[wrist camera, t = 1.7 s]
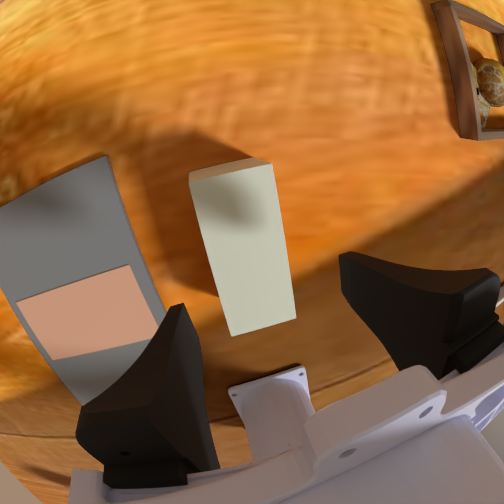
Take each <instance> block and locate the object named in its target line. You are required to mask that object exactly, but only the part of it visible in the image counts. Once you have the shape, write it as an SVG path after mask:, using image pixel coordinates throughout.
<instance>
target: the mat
mask: <svg viewBox="0 0 504 504" xmlns="http://www.w3.org/2000/svg"><path fill="white" fill-rule="evenodd" d="M0 287H1V289H2V291H3V293H4V295H5V296H6V298H7V300H8V302H9V304H10V306H11V307H12V309H13V311H14V312H15V314H16V316H17V318H18V319H19V321H20V323H21V324H22V326H23V327H24V329H25V331H26V332H27V334H28V335H29V337H30V338H31V340H32V341H33V343H34V344H35V346H36V347H37V349H38V350H39V352H40V353H41V354H42V356H43V357H44V359H45V360H46V361H47V363H48V364H49V365H50V367H51V368H52V369H53V371H54V372H55V373H56V374H57V376H58V377H59V378H60V380H61V381H62V382H63V383H64V384H65V386H66V387H67V388H68V389H69V390H70V392H71V393H72V394H73V395H74V396H75V397H76V399H77V400H78V401H79V402H80V403H81V404H82V405H85V404H86V403H88V402H89V401H91V400H92V399H94V398H95V397H97V396H98V395H100V394H101V393H102V392H104V391H105V390H106V389H107V388H109V387H110V386H111V385H112V384H113V383H115V382H116V381H117V380H118V379H119V378H120V377H121V376H122V375H123V374H124V373H125V372H126V371H127V370H128V369H129V368H130V367H131V366H132V365H133V363H134V362H135V361H136V360H137V359H138V357H139V356H140V355H141V354H142V352H143V351H144V349H145V348H146V347H147V345H148V343H149V342H150V340H151V339H152V337H153V336H154V334H155V333H156V331H157V329H158V328H159V326H160V324H161V322H162V321H163V319H164V317H165V315H166V314H167V312H166V310H165V307H164V305H163V303H162V301H161V299H160V296H159V294H158V292H157V289H156V287H155V285H154V282H153V280H152V278H151V275H150V273H149V271H148V268H147V266H146V263H145V261H144V258H143V256H142V253H141V251H140V248H139V246H138V243H137V240H136V238H135V235H134V232H133V230H132V227H131V224H130V222H129V219H128V216H127V213H126V210H125V207H124V204H123V202H122V199H121V196H120V193H119V190H118V186H117V183H116V180H115V177H114V174H113V170H112V167H111V164H110V160H109V157H108V155H106V156H103V157H101V158H98V159H96V160H94V161H91V162H89V163H87V164H84V165H82V166H80V167H77V168H75V169H73V170H71V171H69V172H67V173H64V174H62V175H60V176H58V177H56V178H54V179H52V180H50V181H48V182H46V183H44V184H42V185H40V186H38V187H36V188H34V189H32V190H31V191H29V192H27V193H25V194H23V195H21V196H20V197H18V198H16V199H14V200H13V201H11V202H9V203H7V204H6V205H4V206H2V207H1V208H0Z"/></svg>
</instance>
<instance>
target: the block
mask: <svg viewBox="0 0 504 504" xmlns="http://www.w3.org/2000/svg"><path fill="white" fill-rule="evenodd" d="M188 183H189V187H190V191H191V195H192V199H193V203H194V207H195V211H196V215H197V219H198V222H199V226H200V230H201V234H202V237H203V241H204V245H205V248H206V252H207V255H208V259H209V263H210V266H211V270H212V273H213V277H214V280H215V283H216V287H217V290H218V294H219V297H220V300H221V304H222V307H223V310H224V314H225V317H226V320H227V323H228V327H229V330H230V333H231V336H235V335H239V334H243V333H247V332H250V331H254V330H257V329H261V328H264V327H268V326H271V325H275V324H278V323H281V322H285V321H288V320H291V319H294V318H296V312H295V305H294V297H293V290H292V283H291V276H290V270H289V263H288V256H287V250H286V243H285V237H284V231H283V225H282V219H281V213H280V207H279V201H278V195H277V189H276V183H275V178H274V172H273V166H272V163H269V162H266V161H263V160H260V159H257V158H254V157H251V158H247V159H242V160H237V161H233V162H228V163H224V164H220V165H216V166H211V167H207V168H203V169H199V170H195V171H192V172H189V181H188Z"/></svg>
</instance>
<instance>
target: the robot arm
mask: <svg viewBox="0 0 504 504" xmlns="http://www.w3.org/2000/svg"><path fill="white" fill-rule="evenodd" d="M339 265H340V277H341V290H342V293H343V295H344V296H345V298H346V300H347V301H348V303H349V304H350V306H351V307H352V308H353V310H354V311H355V312H356V313H357V314H358V315H359V317H360V318H361V319H362V320H363V321H364V322H365V323H366V325H367V326H368V327H369V328H370V329H371V330H372V331H373V333H374V334H375V335H376V336H377V337H378V339H379V340H380V341H381V342H382V344H383V345H384V347H385V348H386V350H387V351H388V353H389V354H390V356H391V358H392V359H393V361H394V363H395V364H396V366H397V368H398V369H399V371H400V372H398V373H396V374H394V375H392V376H390V377H389V378H387V379H385V380H383V381H381V382H379V383H376V384H374V385H372V386H370V387H368V388H366V389H364V390H362V391H359V392H357V393H355V394H353V395H350V396H348V397H346V398H343V399H341V400H339V401H336V402H334V403H332V404H330V405H328V406H326V407H324V408H323V409H321V410H319V411H317V412H315V410H314V408H313V406H312V403H311V401H310V395H309V389H308V383H307V376H306V370H305V368H304V366H297V367H294V368H291V369H289V370H286V371H283V372H280V373H277V374H273V375H270V376H267V377H264V378H261V379H257V380H254V381H251V382H247V383H244V384H240V385H237V386H233V387H230V388H229V389H228V394H229V396H230V398H231V400H232V402H233V404H234V406H235V408H236V410H237V412H238V413H239V415H240V417H241V419H242V421H243V423H244V425H245V430H246V434H247V438H248V442H249V445H250V449H251V453H252V457H253V462H249V463H245V464H241V465H237V466H232V467H227V468H222V469H221V468H220V465H219V462H218V458H217V454H216V451H215V447H214V443H213V439H212V435H211V430H210V426H209V421H208V416H207V411H206V406H205V398H204V382H203V363H202V353H201V347H200V342H199V337H198V335H197V333H196V330H195V328H194V326H193V324H192V321H191V319H190V317H189V314H188V312H187V310H186V307H185V305H184V303H181V304H178V305H174V306H171V307H170V308H169V310H168V312H167V314H166V315H165V317H164V319H163V321H162V322H161V324H160V326H159V328H158V329H157V331H156V333H155V334H154V336H153V337H152V339H151V340H150V342H149V343H148V345H147V347H146V348H145V349H144V351H143V352H142V354H141V355H140V356H139V357H138V359H137V360H136V361H135V362H134V363H133V365H132V366H131V367H130V368H129V369H128V370H127V371H126V372H125V373H124V374H123V375H122V376H121V377H120V378H119V379H118V380H117V381H116V382H115V383H113V384H112V385H111V386H110V387H109V388H107V389H106V390H105V391H104V392H102V393H101V394H100V395H98V396H97V397H95V398H94V399H92V400H91V401H89V402H88V403H86V404H85V405H83V406H82V407H81V411H80V415H79V419H78V424H77V429H76V439H77V441H78V443H79V444H80V445H81V446H82V447H83V448H84V449H85V450H86V451H87V452H88V453H89V454H91V455H92V456H93V457H94V458H96V459H97V460H98V461H100V462H101V463H102V464H103V465H104V473H103V472H101V471H98V470H83V469H73V470H72V475H71V483H70V491H69V501H68V504H504V463H503V462H502V461H501V459H500V458H499V457H498V455H497V454H496V453H495V451H494V450H493V449H492V447H491V446H490V445H489V443H488V442H487V441H486V440H485V438H484V437H483V436H482V434H481V433H480V431H481V430H482V429H483V428H484V427H485V426H486V425H487V424H488V423H489V422H490V421H491V420H492V419H493V418H494V417H495V416H496V415H497V414H498V413H499V412H500V411H501V410H502V409H503V408H504V322H503V324H501V323H499V322H498V320H499V315H497V314H496V313H495V312H494V311H495V308H496V304H497V301H498V297H499V293H500V278H499V276H498V275H497V274H495V273H494V272H492V271H490V270H489V269H487V268H480V269H472V270H457V271H443V270H429V269H421V268H415V267H409V266H404V265H400V264H396V263H392V262H388V261H384V260H381V259H377V258H374V257H371V256H367V255H364V254H360V253H356V252H351V251H349V252H346V253H343V254H340V255H339Z"/></svg>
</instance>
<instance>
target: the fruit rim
mask: <svg viewBox="0 0 504 504" xmlns="http://www.w3.org/2000/svg"><path fill="white" fill-rule="evenodd" d="M431 6H432V9H433V12H434V14H435V17H436V20H437V23H438V27H439V30H440V33H441V36H442V40H443V44H444V47H445V51H446V55H447V59H448V63H449V68H450V72H451V77H452V82H453V87H454V93H455V99H456V106H457V113H458V121H459V130H460V138H465V139H471V140H477V141H481V140H492V139H504V128H490V129H481V119H480V111H479V104H478V97H477V91H476V85H475V80H474V75H473V70H472V65H471V61H470V57H469V53H468V49H467V45H466V41H465V38H464V34H463V31H462V28H461V25H460V22H459V19H460V20H463V21H465V22H468V23H470V24H473V25H475V26H478V27H480V28H482V29H485V30H487V31H489V32H491V33H493V34H496V36H497V40H498V43H499V47H500V51H501V55H502V59H503V63H504V25H502V24H500V23H498V22H496V21H494V20H493V19H491V18H489V17H487V16H485V15H483V14H481V13H479V12H477V11H474V10H472V9H470V8H468V7H466V6H463V5H461V4H459V3H456V2H454V1H451V0H442V1H439V2H435V3H432V4H431Z"/></svg>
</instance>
